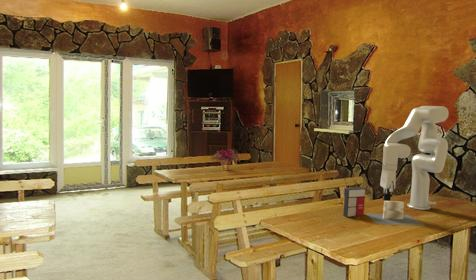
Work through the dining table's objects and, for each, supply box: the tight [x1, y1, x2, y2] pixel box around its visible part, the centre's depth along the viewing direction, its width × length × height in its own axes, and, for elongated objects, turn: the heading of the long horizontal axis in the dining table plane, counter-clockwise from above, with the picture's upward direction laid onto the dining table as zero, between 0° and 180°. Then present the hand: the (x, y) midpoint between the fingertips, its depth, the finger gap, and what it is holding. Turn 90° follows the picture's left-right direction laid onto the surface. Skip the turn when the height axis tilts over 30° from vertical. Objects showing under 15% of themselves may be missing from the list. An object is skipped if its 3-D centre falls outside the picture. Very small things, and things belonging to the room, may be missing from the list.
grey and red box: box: [342, 186, 366, 218], centre depth 221 cm, size 11×4×15 cm, turn 112°
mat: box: [364, 212, 426, 226], centre depth 216 cm, size 24×19×1 cm
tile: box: [382, 200, 405, 219], centre depth 217 cm, size 10×2×9 cm, turn 91°
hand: (386, 200), depth 225 cm, fingers closed
